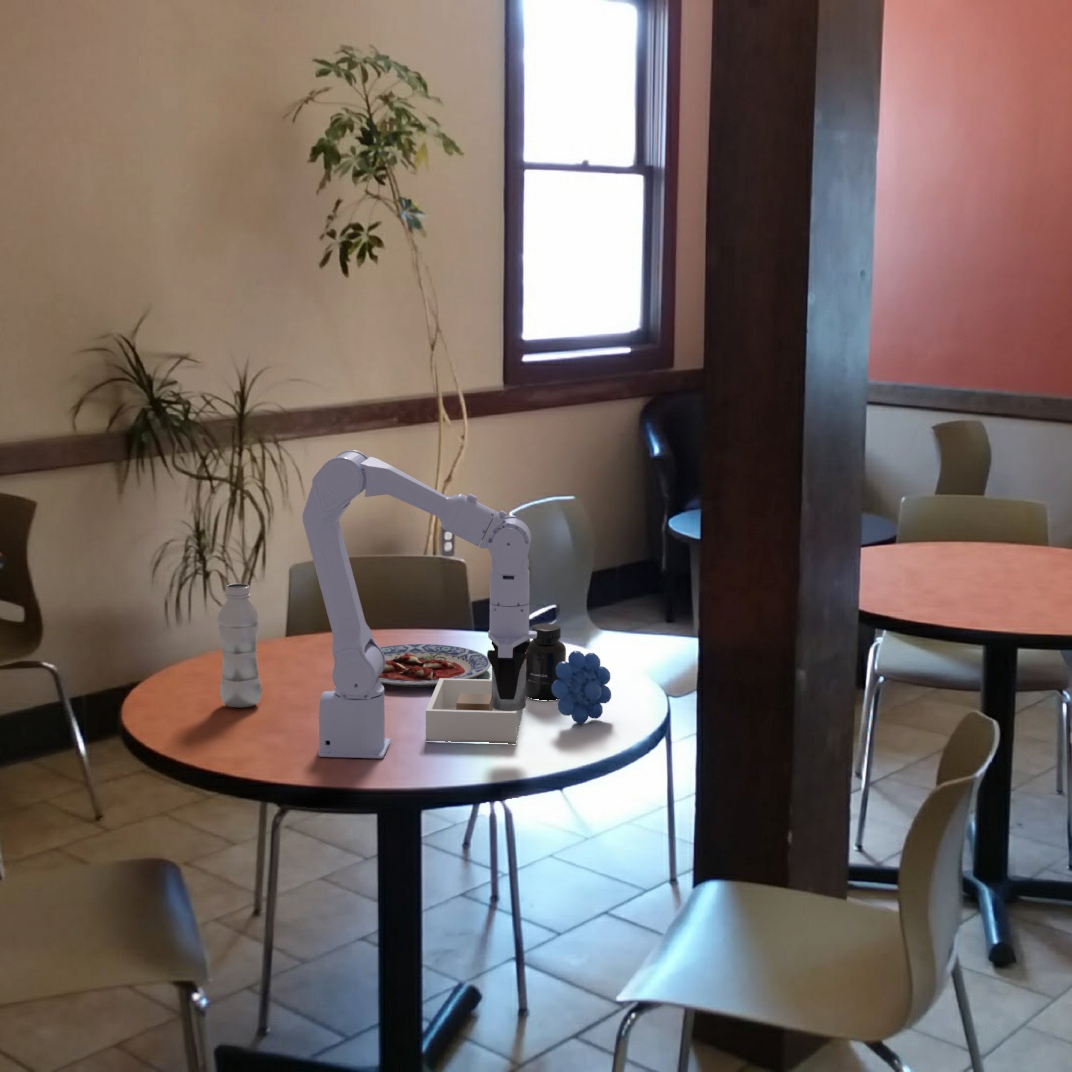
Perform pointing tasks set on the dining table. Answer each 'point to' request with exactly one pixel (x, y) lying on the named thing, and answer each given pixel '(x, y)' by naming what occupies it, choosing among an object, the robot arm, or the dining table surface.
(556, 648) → the supplement bottle
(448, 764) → the dining table surface
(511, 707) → the grey metal cylinder
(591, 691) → the blue knobbed flower shape
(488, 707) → the walnut cube
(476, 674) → the ceramic plate
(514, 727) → the box
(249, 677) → the plastic bottle
